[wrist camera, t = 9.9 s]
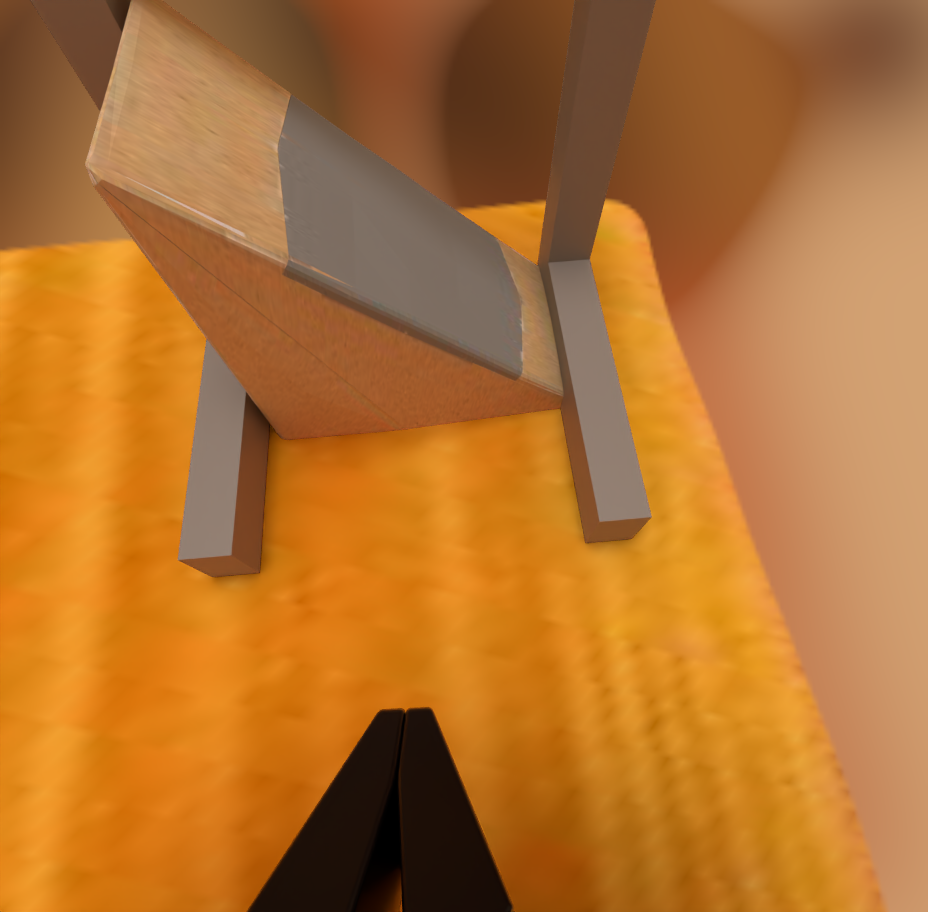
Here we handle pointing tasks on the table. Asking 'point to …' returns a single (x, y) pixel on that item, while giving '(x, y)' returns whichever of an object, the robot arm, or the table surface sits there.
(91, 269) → the table surface
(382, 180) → the sandwich container
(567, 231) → the grey frame stand
